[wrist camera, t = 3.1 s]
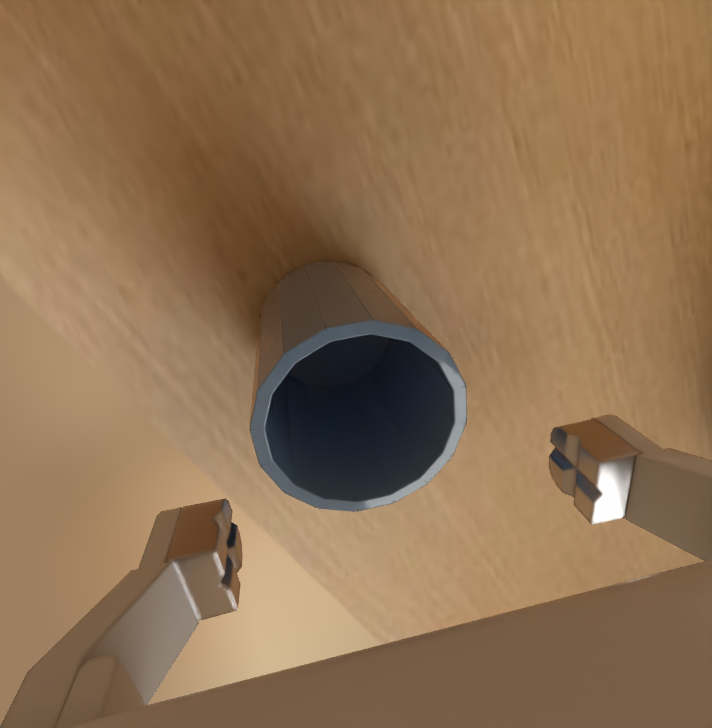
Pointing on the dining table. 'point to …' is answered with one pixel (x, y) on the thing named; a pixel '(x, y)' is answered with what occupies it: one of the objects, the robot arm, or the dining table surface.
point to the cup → (350, 391)
